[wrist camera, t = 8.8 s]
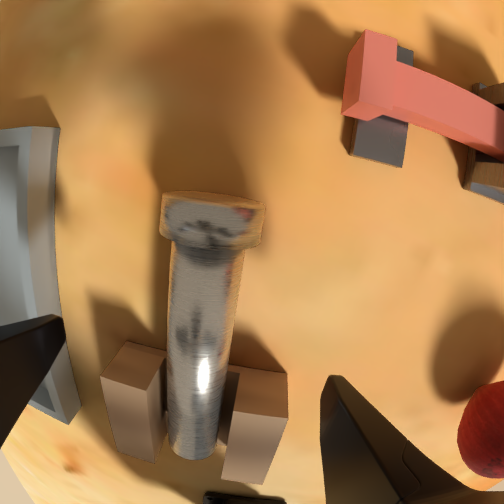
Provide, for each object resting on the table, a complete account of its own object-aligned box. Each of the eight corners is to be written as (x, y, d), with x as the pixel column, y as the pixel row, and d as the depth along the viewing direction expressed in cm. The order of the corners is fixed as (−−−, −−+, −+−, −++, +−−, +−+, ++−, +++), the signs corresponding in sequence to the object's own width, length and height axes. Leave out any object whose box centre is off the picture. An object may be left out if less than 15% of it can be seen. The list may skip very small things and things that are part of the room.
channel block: (264, 445, 15) (262, 484, 12) (135, 417, 15) (117, 451, 13) (287, 373, 14) (288, 418, 11) (126, 340, 14) (100, 376, 11)
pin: (228, 425, 15) (220, 472, 12) (169, 413, 15) (152, 457, 12) (266, 200, 11) (265, 214, 8) (179, 188, 11) (145, 197, 8)
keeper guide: (504, 205, 10) (554, 220, 7) (349, 155, 11) (380, 152, 7) (514, 109, 9) (562, 104, 5) (362, 41, 9) (392, 2, 6)
